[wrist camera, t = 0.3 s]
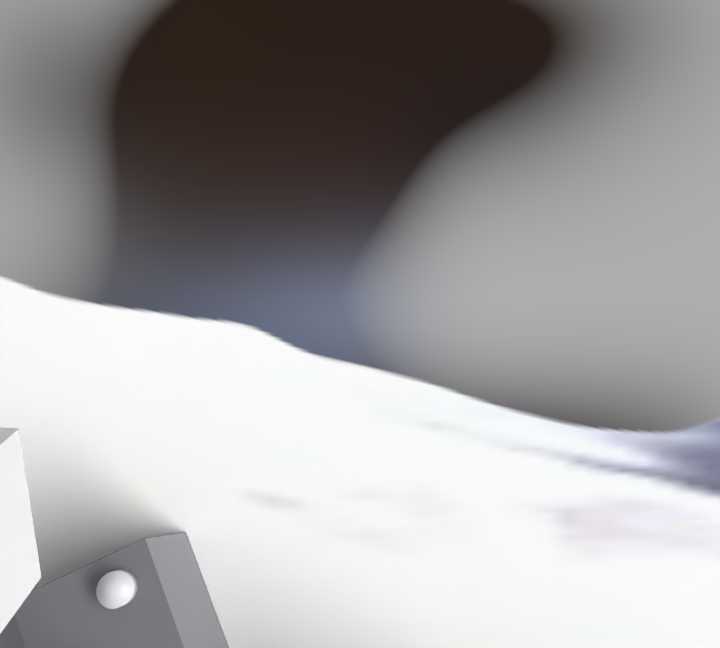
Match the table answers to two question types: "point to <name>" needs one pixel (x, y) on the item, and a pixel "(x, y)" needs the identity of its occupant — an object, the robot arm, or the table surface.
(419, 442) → the table surface
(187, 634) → the camera body
